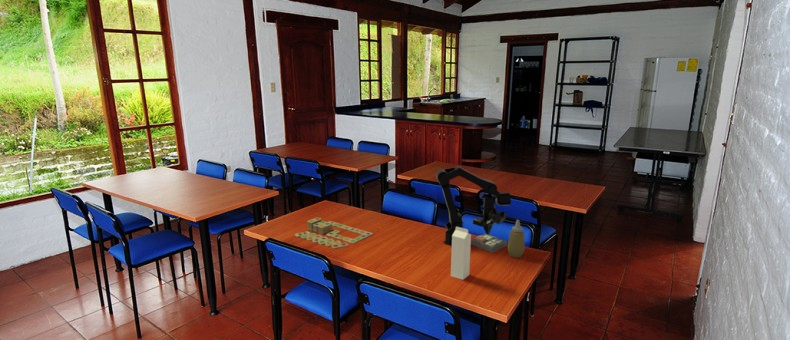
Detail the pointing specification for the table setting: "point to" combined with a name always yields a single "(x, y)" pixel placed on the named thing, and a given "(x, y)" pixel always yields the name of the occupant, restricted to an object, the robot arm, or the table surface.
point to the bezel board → (487, 247)
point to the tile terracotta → (481, 239)
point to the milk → (460, 253)
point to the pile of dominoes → (325, 227)
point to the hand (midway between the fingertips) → (487, 234)
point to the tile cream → (490, 243)
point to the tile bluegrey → (497, 241)
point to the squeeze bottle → (516, 241)
